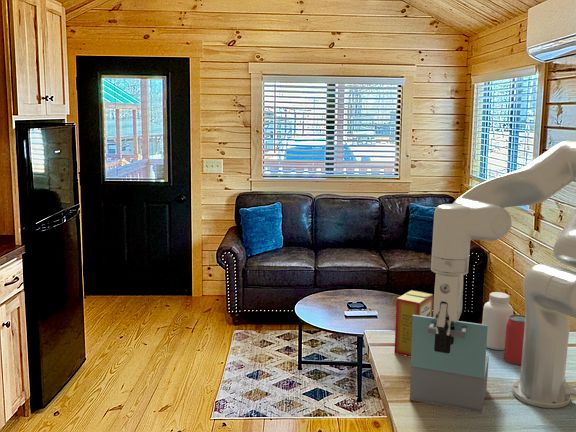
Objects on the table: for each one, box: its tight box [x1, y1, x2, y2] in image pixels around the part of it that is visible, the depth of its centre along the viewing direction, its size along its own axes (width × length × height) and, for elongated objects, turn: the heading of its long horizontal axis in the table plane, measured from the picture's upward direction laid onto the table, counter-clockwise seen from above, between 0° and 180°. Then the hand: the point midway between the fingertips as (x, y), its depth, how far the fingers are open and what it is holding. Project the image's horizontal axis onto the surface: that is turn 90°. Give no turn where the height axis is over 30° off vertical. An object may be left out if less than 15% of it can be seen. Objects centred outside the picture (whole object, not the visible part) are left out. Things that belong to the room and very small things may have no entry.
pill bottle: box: [481, 291, 514, 351], centre depth 171 cm, size 8×8×15 cm
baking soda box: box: [394, 289, 434, 358], centre depth 167 cm, size 10×6×16 cm
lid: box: [410, 315, 488, 378], centre depth 132 cm, size 16×12×5 cm
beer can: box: [503, 314, 525, 366], centre depth 161 cm, size 7×7×12 cm
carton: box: [409, 355, 490, 414], centre depth 142 cm, size 16×12×9 cm
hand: (443, 346), depth 129 cm, fingers open, 4 cm apart
